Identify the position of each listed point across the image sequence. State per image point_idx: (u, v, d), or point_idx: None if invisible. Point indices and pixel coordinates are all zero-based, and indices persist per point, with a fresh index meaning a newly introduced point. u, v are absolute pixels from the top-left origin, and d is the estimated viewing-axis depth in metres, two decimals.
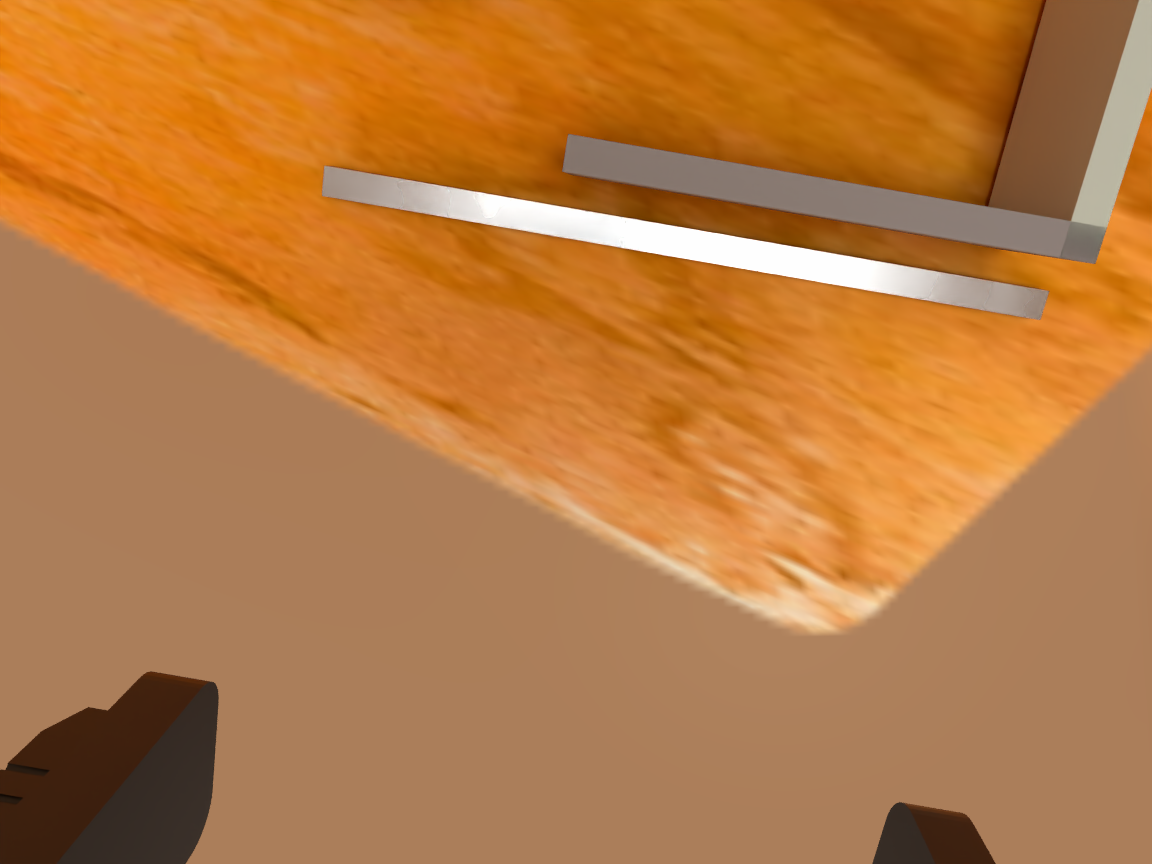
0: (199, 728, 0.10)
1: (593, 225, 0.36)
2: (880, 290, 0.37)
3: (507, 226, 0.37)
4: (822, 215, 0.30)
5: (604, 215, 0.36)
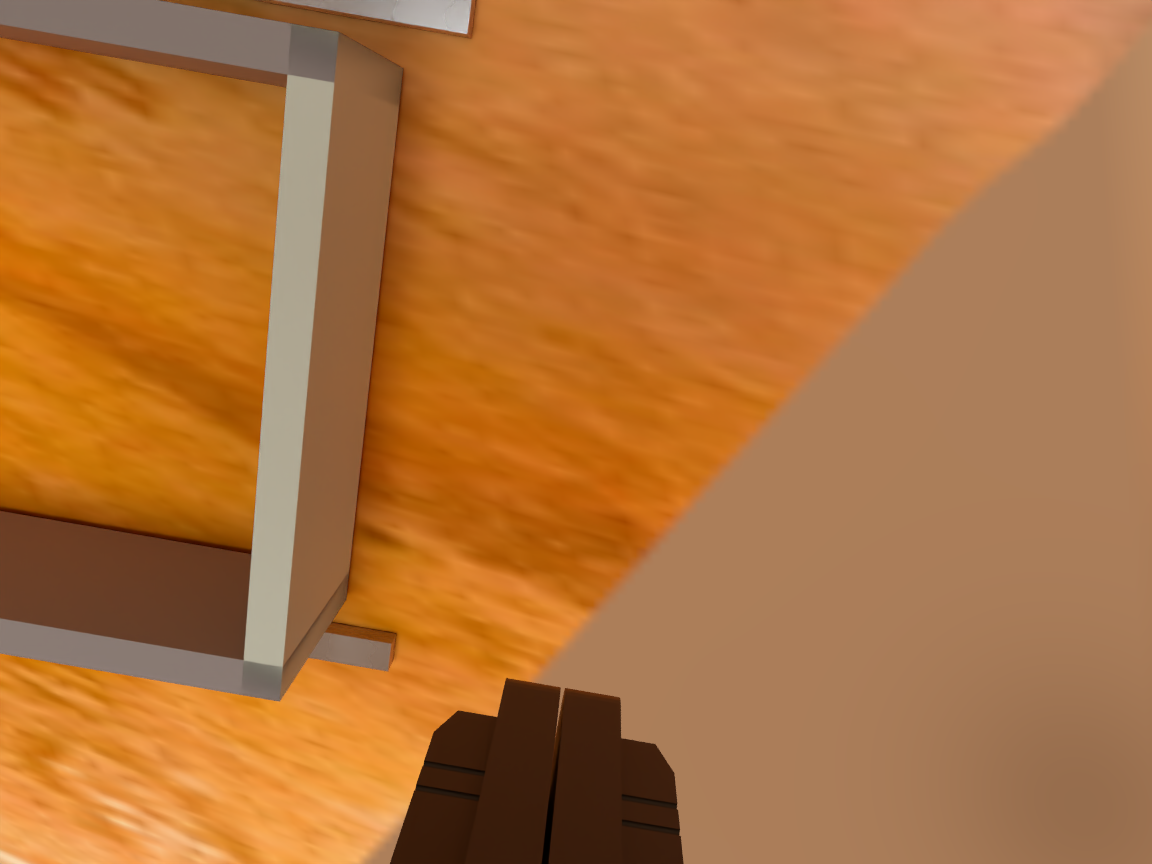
0: None
1: None
2: None
3: None
4: None
5: None
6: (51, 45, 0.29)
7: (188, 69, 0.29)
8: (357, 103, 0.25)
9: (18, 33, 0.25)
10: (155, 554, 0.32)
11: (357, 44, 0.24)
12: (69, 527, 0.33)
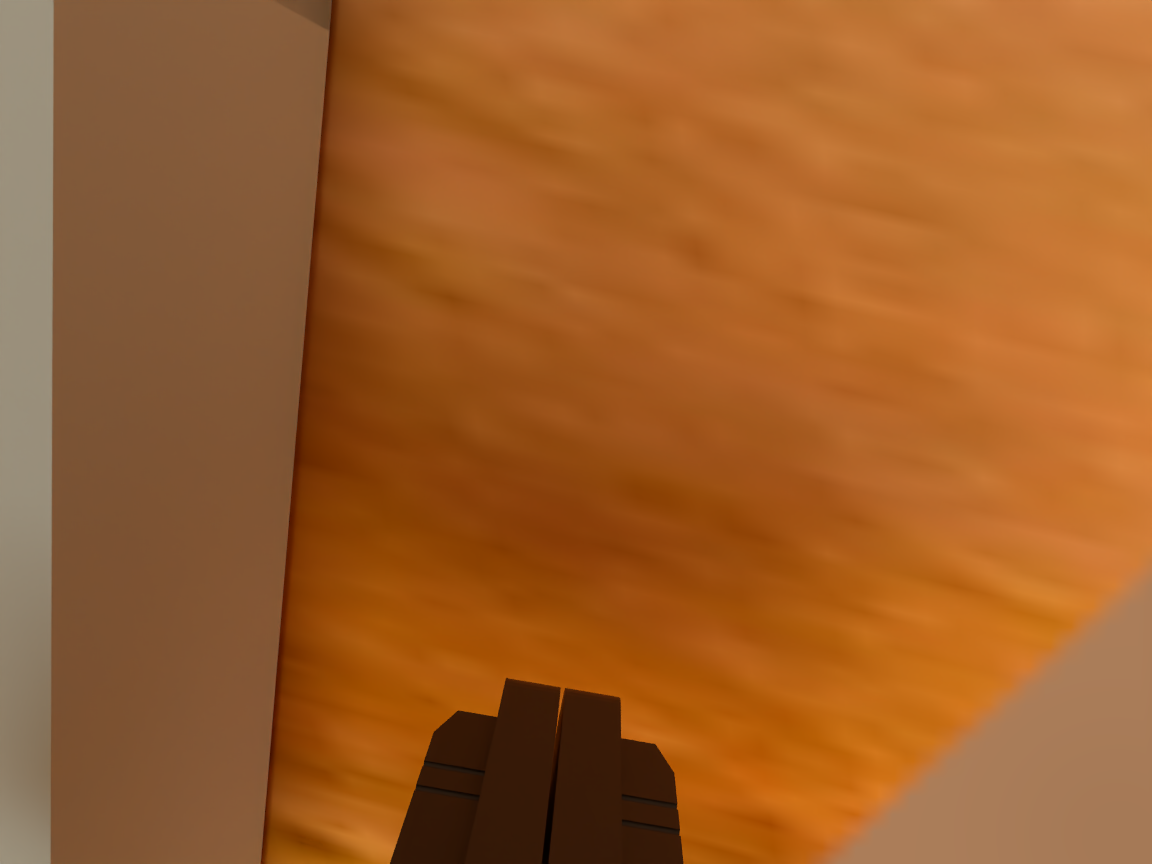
0: None
1: None
2: None
3: None
4: None
5: None
6: None
7: None
8: None
9: None
10: None
11: None
12: None
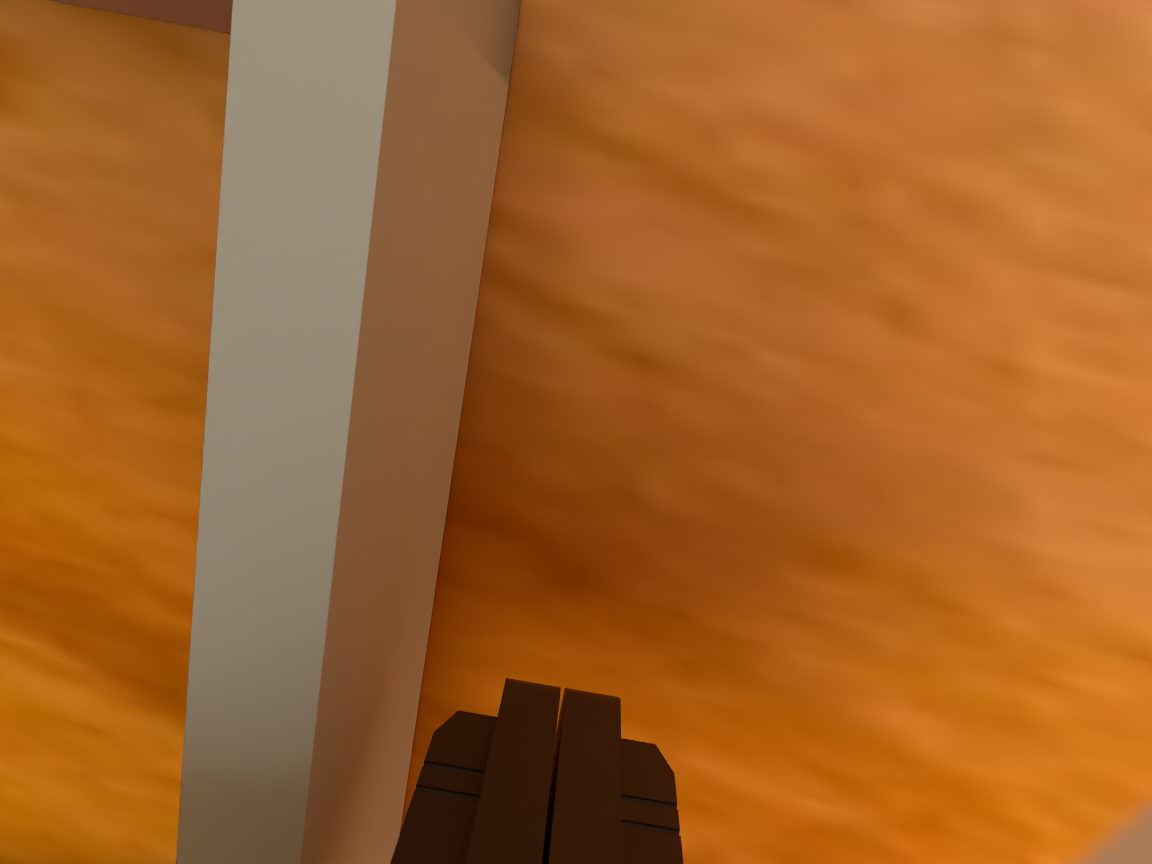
0: None
1: None
2: None
3: None
4: None
5: None
6: None
7: None
8: (449, 60, 0.09)
9: None
10: None
11: None
12: None
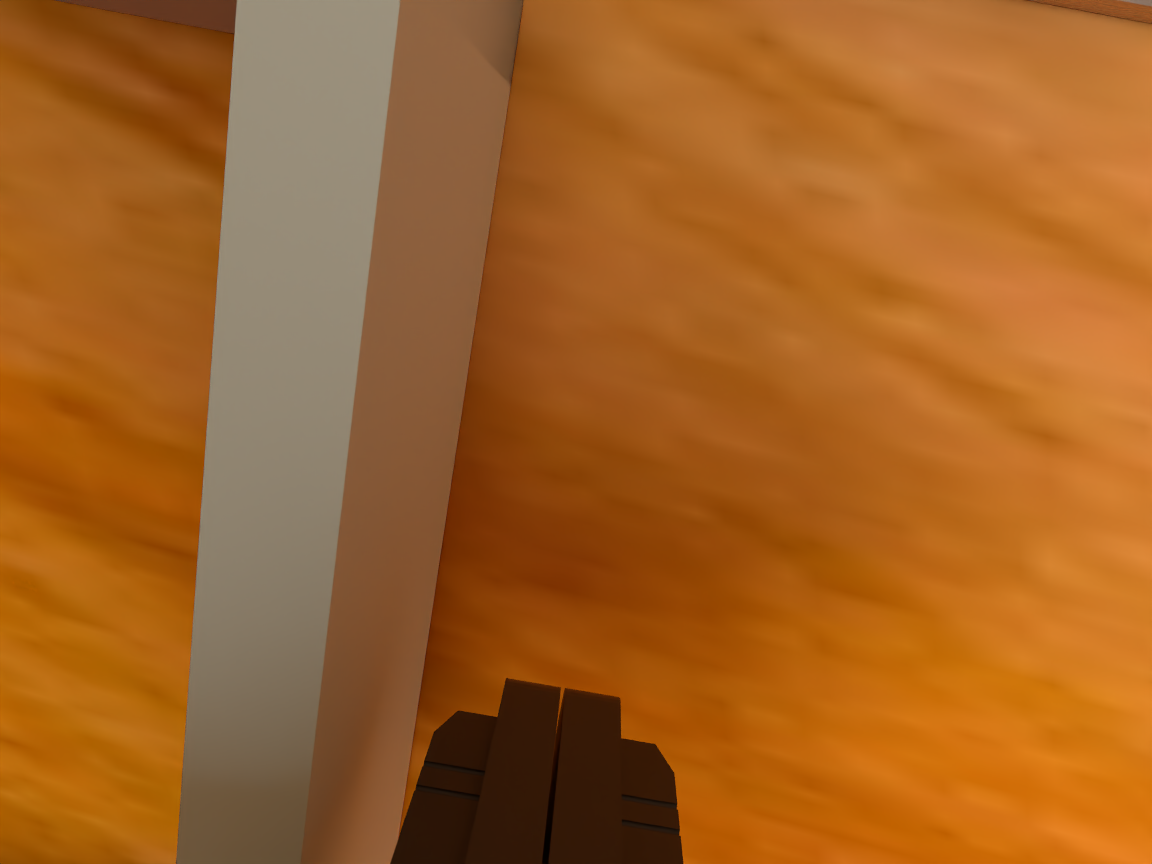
0: None
1: None
2: None
3: None
4: None
5: None
6: None
7: None
8: (451, 61, 0.09)
9: None
10: None
11: None
12: None
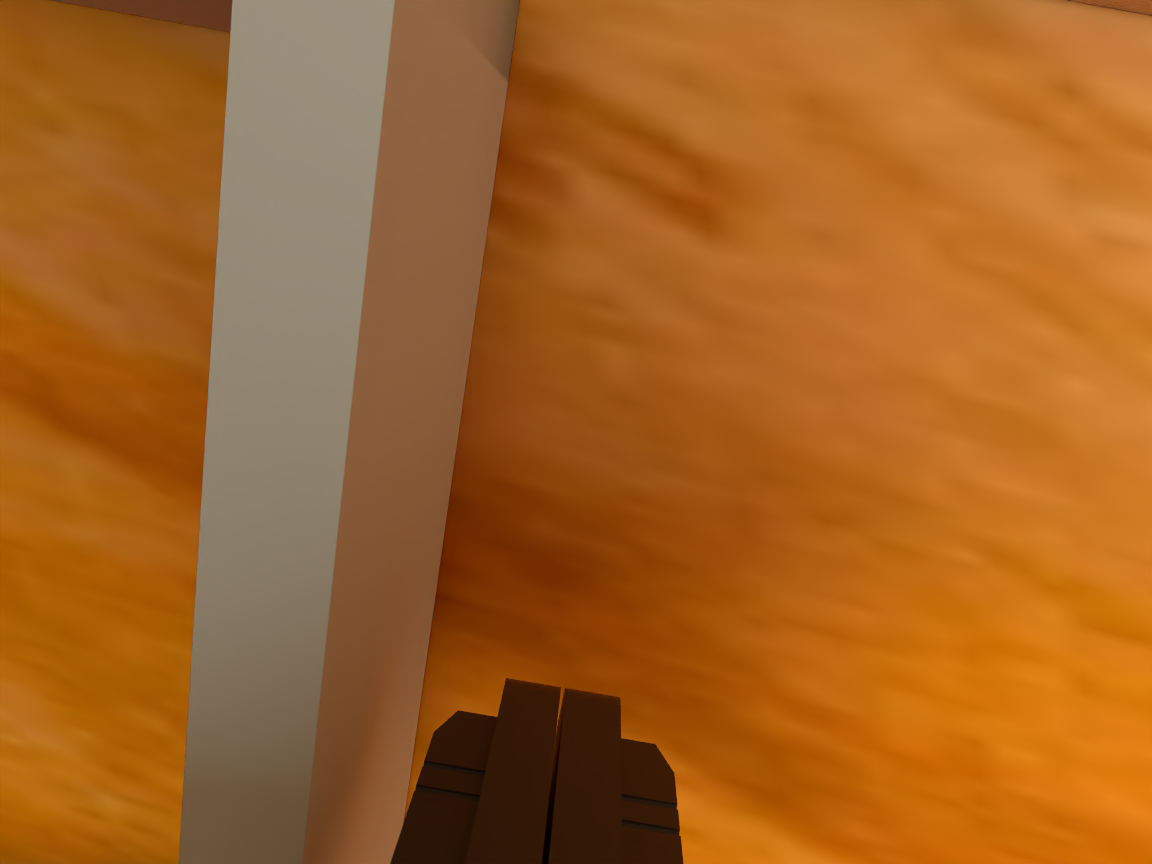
0: None
1: None
2: None
3: None
4: None
5: None
6: None
7: None
8: (448, 56, 0.09)
9: None
10: None
11: None
12: None
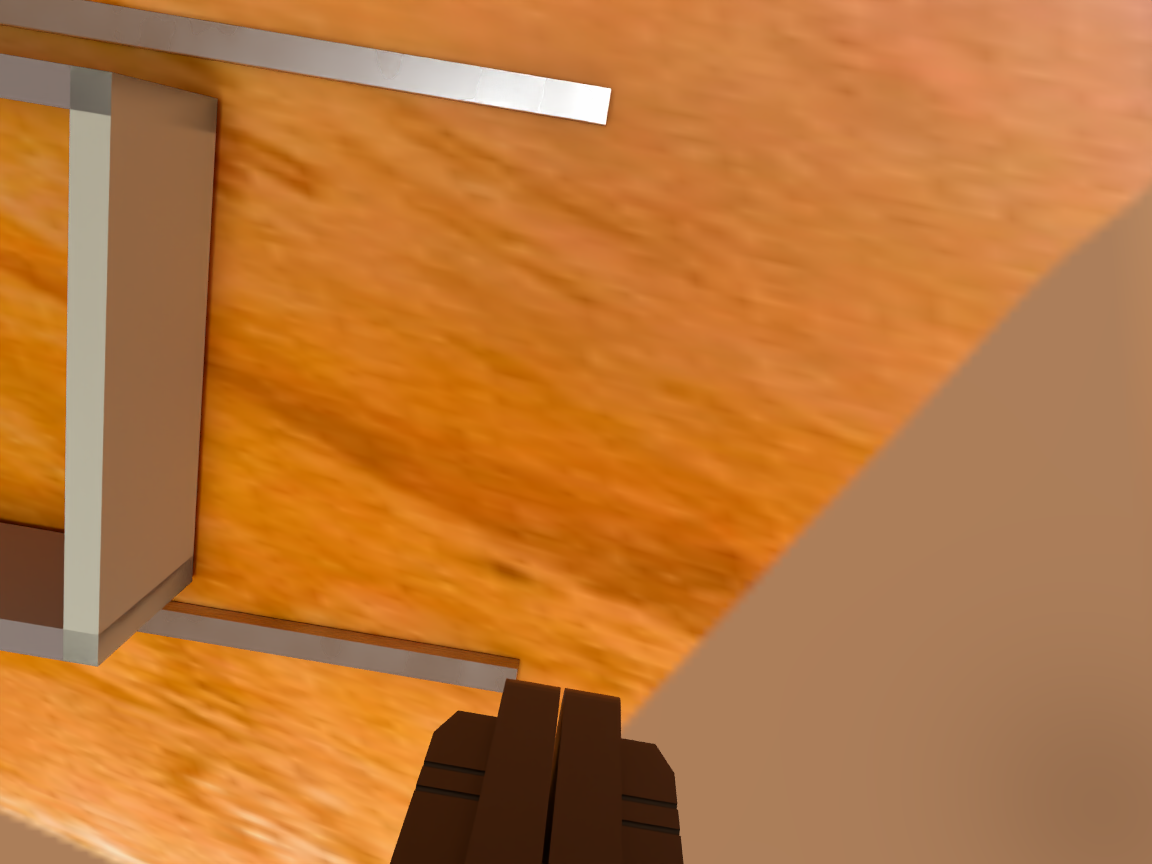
0: None
1: None
2: (356, 666, 0.37)
3: None
4: None
5: None
6: None
7: None
8: (149, 132, 0.28)
9: None
10: (11, 539, 0.36)
11: (142, 81, 0.27)
12: None
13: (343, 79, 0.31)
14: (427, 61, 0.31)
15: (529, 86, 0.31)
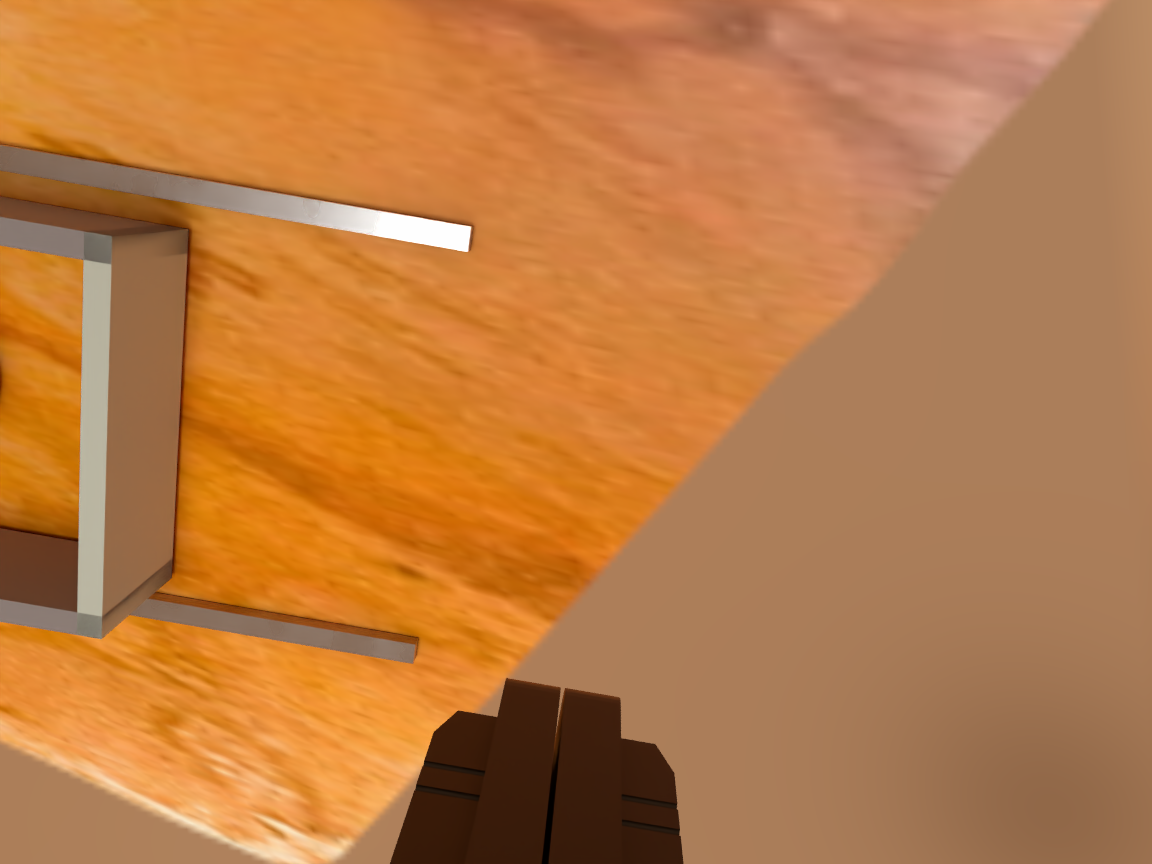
0: None
1: None
2: (295, 642, 0.50)
3: None
4: None
5: None
6: None
7: None
8: (138, 266, 0.40)
9: None
10: (37, 546, 0.48)
11: (132, 235, 0.39)
12: None
13: (279, 218, 0.44)
14: (339, 206, 0.43)
15: (412, 224, 0.43)
